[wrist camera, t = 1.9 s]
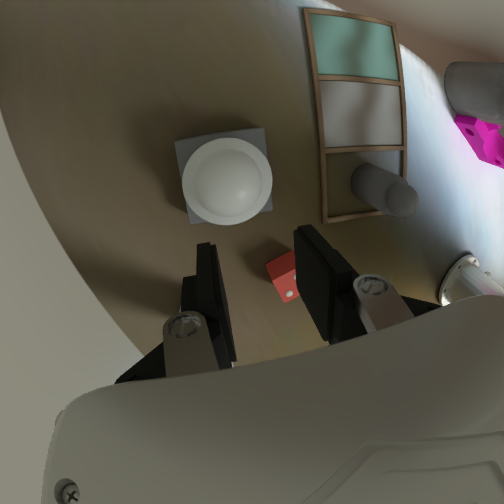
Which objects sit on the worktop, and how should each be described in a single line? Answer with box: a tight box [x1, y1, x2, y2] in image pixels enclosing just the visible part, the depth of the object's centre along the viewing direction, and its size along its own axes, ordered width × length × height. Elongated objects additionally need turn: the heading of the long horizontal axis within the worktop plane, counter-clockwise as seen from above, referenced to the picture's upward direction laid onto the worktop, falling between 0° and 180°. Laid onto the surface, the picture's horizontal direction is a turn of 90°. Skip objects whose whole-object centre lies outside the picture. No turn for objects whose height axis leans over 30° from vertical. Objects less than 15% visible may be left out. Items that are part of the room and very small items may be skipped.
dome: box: [182, 138, 272, 225], centre depth 26 cm, size 8×8×7 cm
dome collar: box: [174, 127, 273, 225], centre depth 29 cm, size 9×9×3 cm
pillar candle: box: [444, 62, 504, 126], centre depth 22 cm, size 10×10×15 cm
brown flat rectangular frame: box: [302, 8, 407, 224], centre depth 29 cm, size 13×28×1 cm, turn 7°
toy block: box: [454, 114, 504, 169], centre depth 30 cm, size 15×6×8 cm, turn 60°
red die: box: [265, 250, 300, 303], centre depth 36 cm, size 4×4×4 cm
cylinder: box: [351, 164, 418, 218], centre depth 29 cm, size 5×5×10 cm
